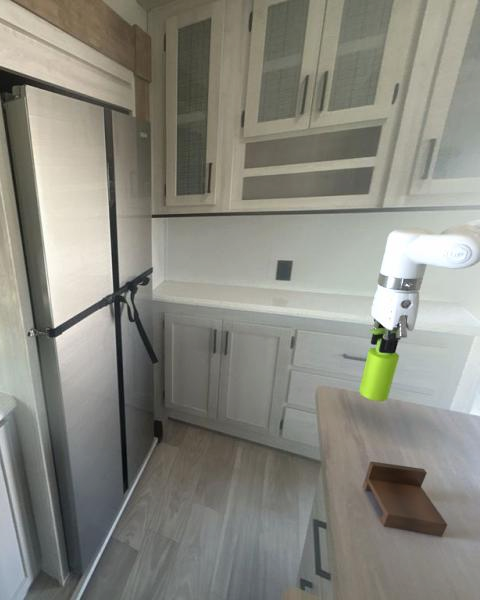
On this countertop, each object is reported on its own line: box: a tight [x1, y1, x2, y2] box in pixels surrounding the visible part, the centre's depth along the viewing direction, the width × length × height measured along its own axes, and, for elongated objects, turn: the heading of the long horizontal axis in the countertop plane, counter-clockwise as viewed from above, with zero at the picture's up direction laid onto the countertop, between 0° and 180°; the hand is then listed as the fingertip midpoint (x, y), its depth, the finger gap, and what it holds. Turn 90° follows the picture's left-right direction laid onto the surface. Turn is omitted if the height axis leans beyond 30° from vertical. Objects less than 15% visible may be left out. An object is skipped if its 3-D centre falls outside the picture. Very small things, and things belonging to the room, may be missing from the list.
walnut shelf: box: [362, 461, 448, 538], centre depth 67 cm, size 9×9×9 cm
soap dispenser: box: [358, 328, 400, 402], centre depth 87 cm, size 6×7×20 cm
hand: (382, 347), depth 85 cm, fingers closed on soap dispenser, 3 cm apart
